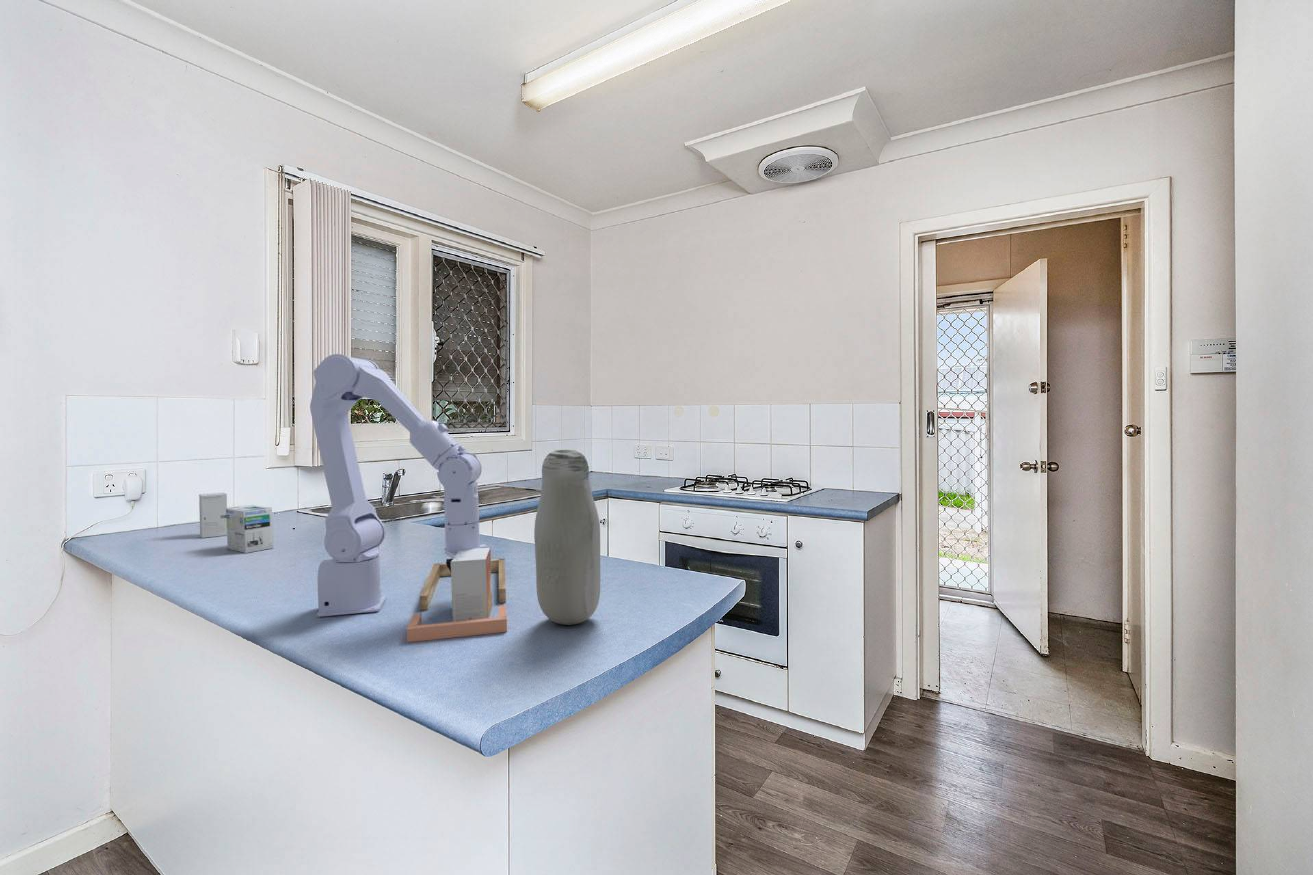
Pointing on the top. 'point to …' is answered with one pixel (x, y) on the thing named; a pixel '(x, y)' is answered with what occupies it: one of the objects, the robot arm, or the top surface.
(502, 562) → the u-shaped frame
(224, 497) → the skincare box
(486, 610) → the small box
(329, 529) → the robot arm
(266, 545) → the light bulb box
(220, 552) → the top surface
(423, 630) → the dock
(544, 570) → the grey bottle
